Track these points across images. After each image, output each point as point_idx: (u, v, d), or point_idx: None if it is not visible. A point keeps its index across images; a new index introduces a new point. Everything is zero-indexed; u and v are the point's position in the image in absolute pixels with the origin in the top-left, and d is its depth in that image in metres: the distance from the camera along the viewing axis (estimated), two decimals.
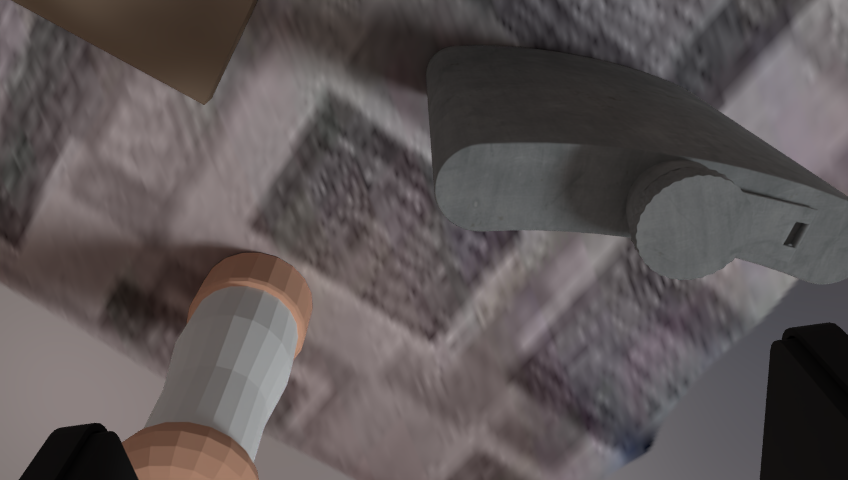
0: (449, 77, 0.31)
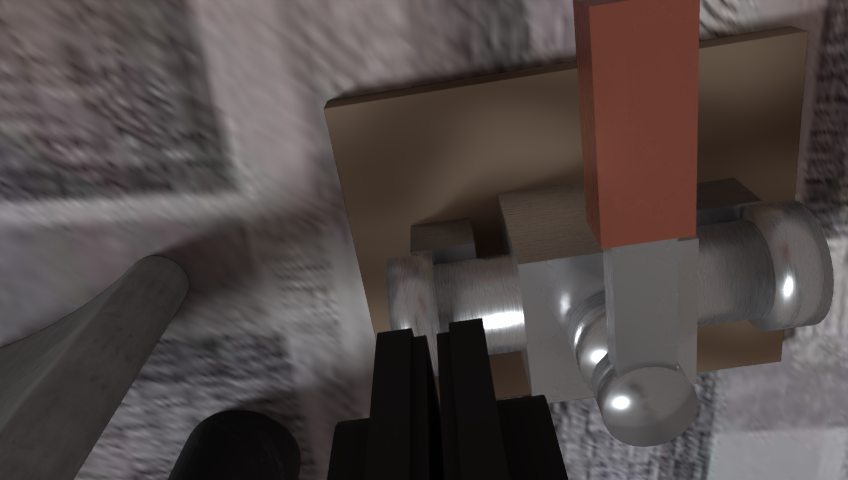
0: (138, 372, 0.31)
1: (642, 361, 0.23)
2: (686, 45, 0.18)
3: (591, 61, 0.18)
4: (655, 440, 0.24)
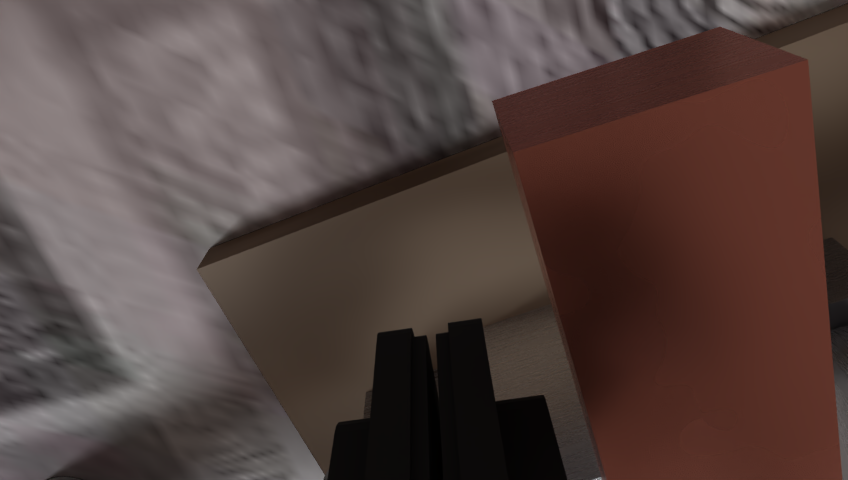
0: None
1: None
2: (785, 201, 0.07)
3: (546, 269, 0.07)
4: None
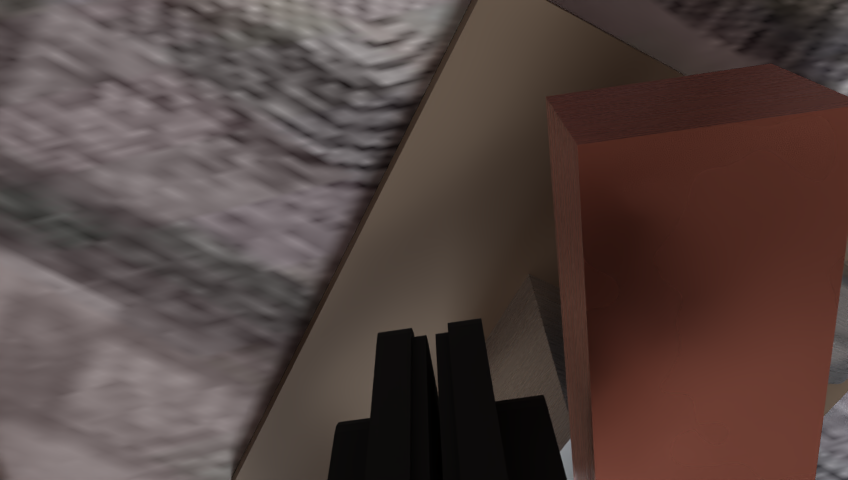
0: None
1: None
2: (816, 234, 0.07)
3: (582, 264, 0.07)
4: None
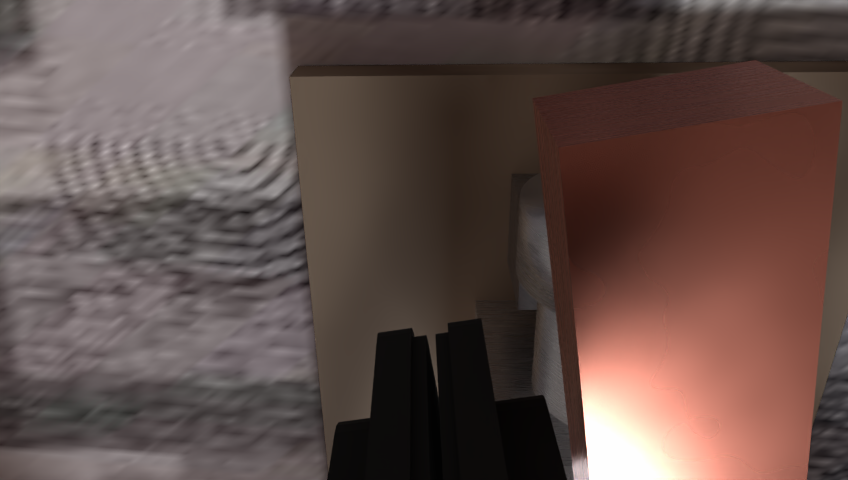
0: None
1: None
2: (799, 229, 0.07)
3: (569, 264, 0.08)
4: None
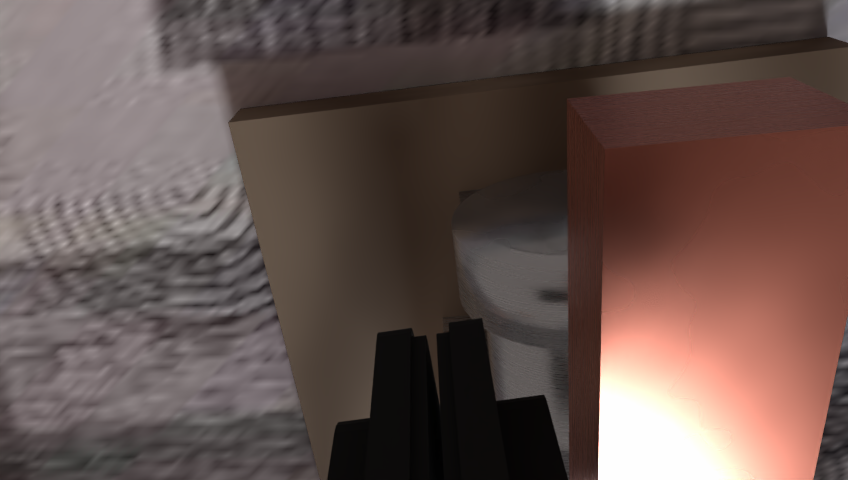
0: None
1: None
2: (831, 247, 0.07)
3: (600, 266, 0.08)
4: None
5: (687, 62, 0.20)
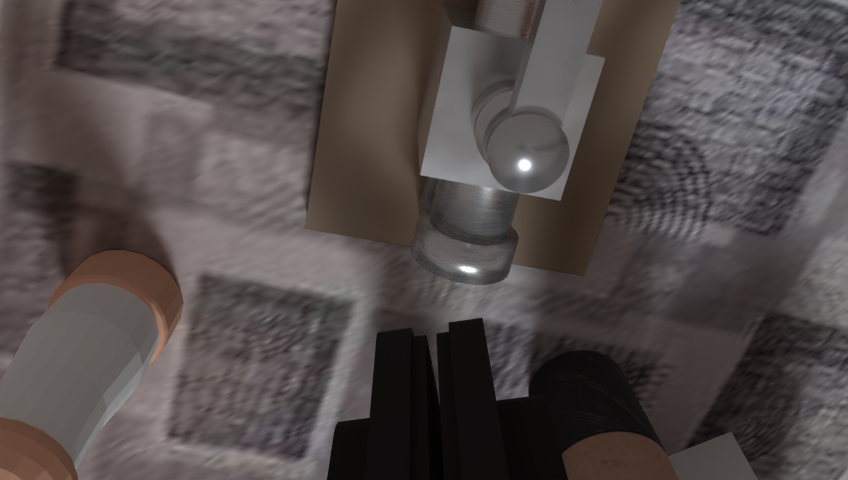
0: None
1: (537, 107, 0.26)
2: None
3: None
4: (522, 187, 0.27)
5: None
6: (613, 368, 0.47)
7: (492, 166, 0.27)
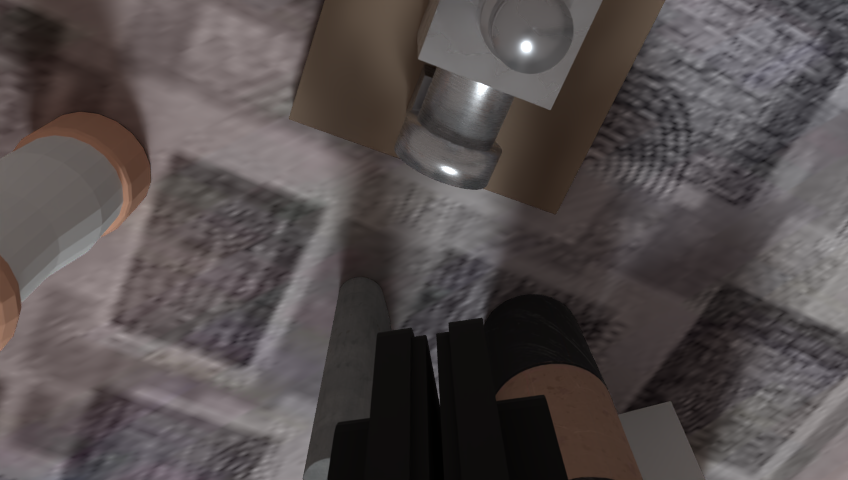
0: (373, 344, 0.42)
1: None
2: None
3: None
4: (521, 66, 0.27)
5: None
6: (569, 315, 0.47)
7: (495, 38, 0.27)
